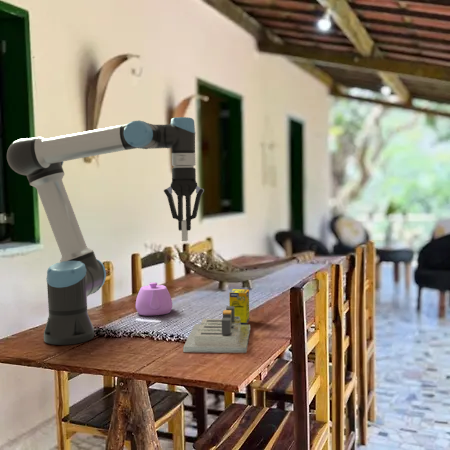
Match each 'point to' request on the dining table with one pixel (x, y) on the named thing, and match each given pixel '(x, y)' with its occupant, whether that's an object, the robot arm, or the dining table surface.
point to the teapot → (153, 300)
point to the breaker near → (226, 325)
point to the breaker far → (232, 311)
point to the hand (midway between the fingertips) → (184, 240)
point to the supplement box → (240, 304)
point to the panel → (219, 347)
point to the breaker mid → (227, 314)
